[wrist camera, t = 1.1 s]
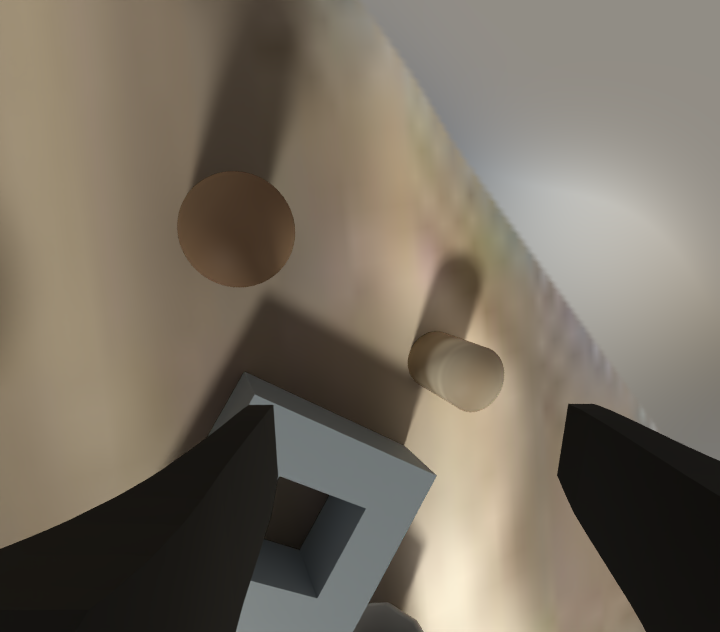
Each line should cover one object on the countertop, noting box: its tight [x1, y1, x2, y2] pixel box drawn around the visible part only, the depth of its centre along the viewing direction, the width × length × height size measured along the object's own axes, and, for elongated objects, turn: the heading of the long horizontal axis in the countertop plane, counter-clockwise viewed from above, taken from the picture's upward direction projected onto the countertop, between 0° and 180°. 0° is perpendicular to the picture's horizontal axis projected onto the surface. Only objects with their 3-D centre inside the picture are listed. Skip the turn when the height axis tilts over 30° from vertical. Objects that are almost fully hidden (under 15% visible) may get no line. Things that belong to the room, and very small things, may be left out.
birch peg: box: [408, 331, 504, 412], centre depth 23 cm, size 3×3×4 cm
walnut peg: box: [177, 171, 295, 287], centre depth 16 cm, size 3×3×8 cm
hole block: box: [207, 372, 437, 632], centre depth 21 cm, size 10×10×4 cm
